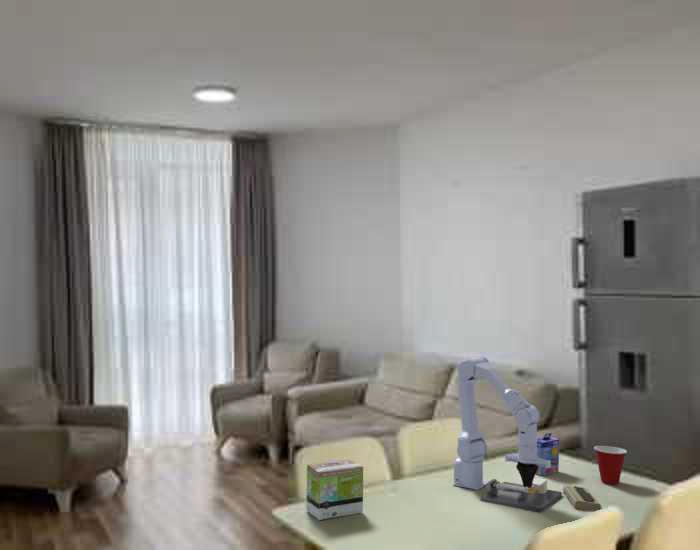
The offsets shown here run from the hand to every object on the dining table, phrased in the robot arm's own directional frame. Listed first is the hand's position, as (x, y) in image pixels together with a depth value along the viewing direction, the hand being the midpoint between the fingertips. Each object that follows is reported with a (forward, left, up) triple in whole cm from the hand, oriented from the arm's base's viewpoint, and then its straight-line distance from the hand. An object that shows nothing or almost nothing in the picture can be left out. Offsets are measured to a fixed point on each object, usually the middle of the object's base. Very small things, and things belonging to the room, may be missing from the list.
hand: (527, 486), depth 228 cm
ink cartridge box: (-7, +34, -5) cm, 35 cm away
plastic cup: (+16, +35, -5) cm, 39 cm away
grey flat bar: (-4, 0, -2) cm, 5 cm away
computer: (+14, +10, -5) cm, 18 cm away
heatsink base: (-3, +2, -5) cm, 6 cm away
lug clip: (+1, +6, -3) cm, 7 cm away
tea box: (-45, -43, -5) cm, 62 cm away
